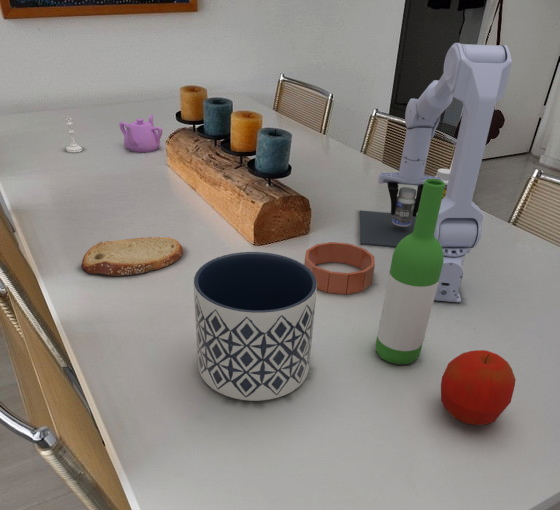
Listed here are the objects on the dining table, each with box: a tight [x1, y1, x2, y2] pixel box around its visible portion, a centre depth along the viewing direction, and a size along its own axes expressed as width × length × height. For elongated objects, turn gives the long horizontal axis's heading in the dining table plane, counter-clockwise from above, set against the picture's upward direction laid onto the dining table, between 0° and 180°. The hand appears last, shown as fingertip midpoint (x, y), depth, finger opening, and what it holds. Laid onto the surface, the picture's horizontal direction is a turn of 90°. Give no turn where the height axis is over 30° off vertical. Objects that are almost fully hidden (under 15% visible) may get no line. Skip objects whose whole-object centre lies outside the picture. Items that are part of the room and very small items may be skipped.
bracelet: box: [303, 241, 376, 295], centre depth 114 cm, size 14×14×4 cm
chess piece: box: [65, 115, 83, 153], centre depth 170 cm, size 5×5×10 cm
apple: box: [440, 349, 517, 426], centre depth 80 cm, size 10×10×12 cm
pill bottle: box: [392, 186, 417, 227], centre depth 132 cm, size 5×5×8 cm
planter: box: [193, 251, 318, 402], centre depth 85 cm, size 18×18×16 cm
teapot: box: [118, 113, 163, 153], centre depth 176 cm, size 12×14×9 cm
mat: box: [359, 210, 417, 248], centre depth 136 cm, size 20×20×1 cm
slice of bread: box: [81, 236, 184, 277], centre depth 116 cm, size 18×18×4 cm
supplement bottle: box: [434, 168, 451, 199], centre depth 145 cm, size 6×6×10 cm
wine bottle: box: [375, 179, 445, 366], centre depth 85 cm, size 8×8×30 cm
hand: (403, 214), depth 133 cm, fingers closed on pill bottle, 5 cm apart
